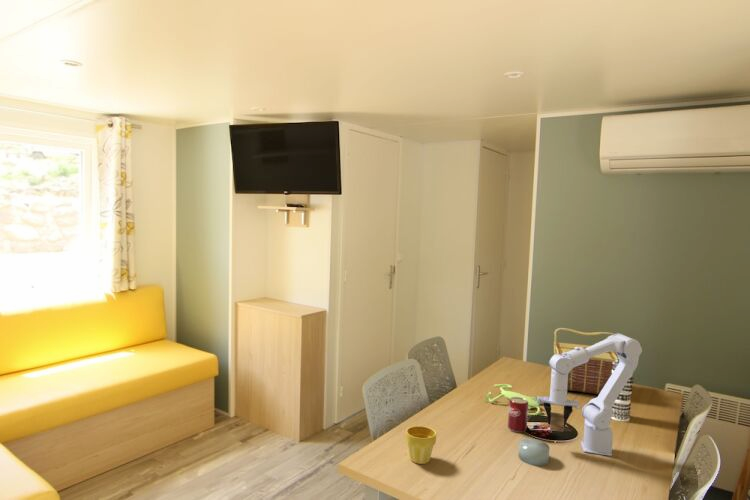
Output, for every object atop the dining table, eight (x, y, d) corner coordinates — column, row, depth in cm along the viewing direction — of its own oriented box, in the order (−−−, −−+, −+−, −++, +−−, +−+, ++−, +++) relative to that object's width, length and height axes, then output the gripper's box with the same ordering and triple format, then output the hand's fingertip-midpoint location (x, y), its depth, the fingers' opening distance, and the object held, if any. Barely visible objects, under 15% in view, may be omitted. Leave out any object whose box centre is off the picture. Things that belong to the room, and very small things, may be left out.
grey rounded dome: (547, 454, 171) (548, 441, 171) (549, 468, 162) (550, 454, 161) (518, 450, 174) (519, 436, 174) (519, 463, 164) (519, 449, 164)
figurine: (497, 391, 235) (498, 380, 234) (551, 406, 217) (552, 394, 217) (479, 401, 221) (479, 389, 220) (535, 418, 203) (536, 405, 203)
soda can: (513, 433, 187) (515, 404, 186) (504, 426, 194) (505, 397, 193) (530, 432, 189) (532, 402, 188) (519, 424, 196) (521, 396, 195)
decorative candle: (606, 418, 205) (610, 361, 204) (607, 411, 213) (611, 356, 212) (630, 423, 201) (635, 365, 199) (630, 416, 209) (634, 360, 208)
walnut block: (562, 426, 176) (562, 413, 176) (563, 432, 172) (564, 418, 172) (549, 425, 178) (549, 412, 177) (550, 430, 173) (551, 416, 173)
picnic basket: (552, 392, 234) (556, 332, 232) (549, 376, 259) (553, 322, 257) (618, 401, 226) (622, 339, 224) (608, 384, 251) (612, 328, 249)
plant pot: (415, 449, 171) (417, 422, 171) (440, 459, 165) (442, 431, 164) (398, 459, 163) (400, 431, 163) (424, 470, 157) (425, 441, 156)
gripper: (578, 387, 176) (576, 423, 177) (537, 382, 180) (534, 417, 181) (581, 393, 169) (579, 430, 170) (538, 388, 173) (536, 424, 174)
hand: (556, 424), depth 175 cm, fingers closed on walnut block, 4 cm apart
